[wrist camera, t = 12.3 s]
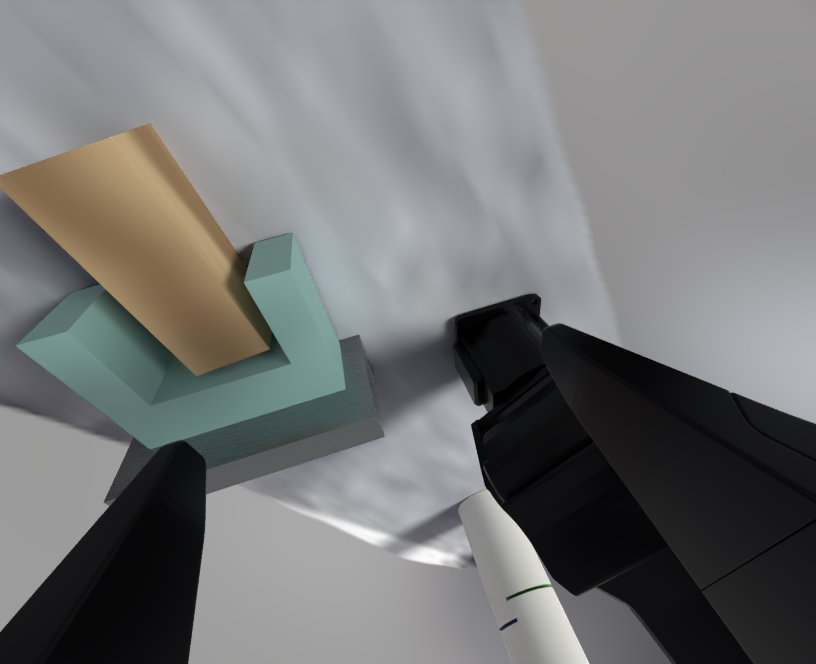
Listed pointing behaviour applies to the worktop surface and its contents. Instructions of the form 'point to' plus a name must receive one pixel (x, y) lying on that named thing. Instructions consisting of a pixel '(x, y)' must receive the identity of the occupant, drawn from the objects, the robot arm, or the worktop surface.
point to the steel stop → (280, 432)
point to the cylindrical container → (518, 587)
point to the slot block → (170, 379)
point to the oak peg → (147, 244)
